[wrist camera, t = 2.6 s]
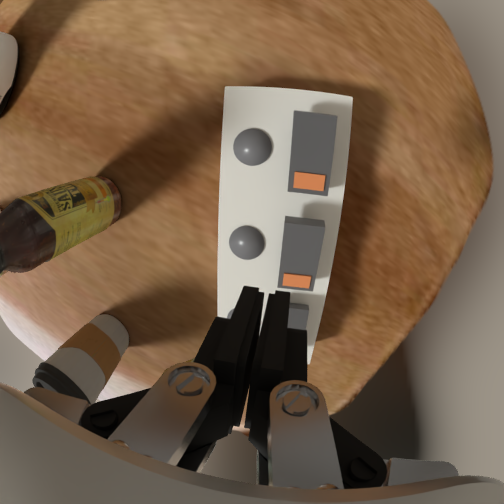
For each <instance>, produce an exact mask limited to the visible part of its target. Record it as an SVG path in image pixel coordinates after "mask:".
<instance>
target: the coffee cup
mask: <svg viewBox="0 0 504 504" xmlns="http://www.w3.org/2000/svg"><path fill="white" fill-rule="evenodd" d="M128 344H129V335H128V332H127V330H126V328H125V327H124V326H123V324H122V323H121V322H120V321H119V320H117V319H116V318H114V317H113V316H110V315H107V314H102V315H98V316H96V317H95V318H94V319H92V320H91V321H90V322H89V323H87V324H86V325H84V326H83V327H82V328H81V329H80V330H79V331H78V332H76V333H75V334H74V335H73V336H72V337H71V338H70V339H68V340H67V341H66V342H65V343H64V344H63V345H62V346H60V347H59V348H58V350H57V351H56V352H55V353H54V354H53V355H52V356H50V357H49V358H48V359H47V360H46V361H45V362H43V363H41V364H40V365H39V367H38V368H37V369H36V371H35V376H34V378H33V384H34V386H35V387H41V388H44V389H47V390H51V391H54V392H57V393H60V394H64V395H67V396H71V397H74V398H78V399H82V400H86V401H87V402H88V404H90V405H92V404H94V403H95V401H96V399H97V398H98V396H99V394H100V392H101V391H102V390H103V388H104V387H105V385H106V383H107V382H108V380H109V378H110V377H111V375H112V373H113V371H114V370H115V368H116V366H117V365H118V363H119V361H120V360H121V357H122V355H123V354H124V352H125V350H126V349H127V347H128Z"/></svg>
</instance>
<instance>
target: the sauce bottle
mask: <svg viewBox="0 0 504 504" xmlns="http://www.w3.org/2000/svg"><path fill="white" fill-rule="evenodd" d="M120 212H121V195H120V193H119V191H118V189H117V187H116V186H115V184H114V183H113V182H112V181H111V180H109V179H108V178H105V177H103V176H101V177H100V176H98V177H87V178H83V179H79V180H75V181H72V182H68V183H65V184H61V185H57V186H54V187H51V188H47V189H44V190H41V191H38V192H35V193H32V194H29V195H26V196H23V197H20V198H17V199H15V200H14V201H13V202H12V203H11V204H10V205H9V206H8V207H6V208H5V209H4V210H3V211H2V212H1V213H0V274H1V273H2V272H3V271H11V272H14V273H15V272H18V273H22V272H28V271H30V270H32V269H34V268H36V267H37V266H39V265H41V264H42V263H44V262H47V261H50V260H51V259H53V258H55V257H56V256H58V255H60V254H62V253H63V252H65V251H67V250H69V249H70V248H72V247H74V246H76V245H78V244H79V243H81V242H83V241H85V240H87V239H89V238H91V237H92V236H94V235H96V234H98V233H100V232H102V231H104V230H106V229H107V228H108V226H110V225H112V224H114V223H115V222H116V221H117V219H118V217H119V215H120Z"/></svg>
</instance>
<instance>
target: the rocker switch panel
mask: <svg viewBox="0 0 504 504" xmlns="http://www.w3.org/2000/svg"><path fill="white" fill-rule="evenodd" d="M352 103H353V97H350V96H344V95H338V94H332V93H325V92H317V91H309V90H299V89H288V88H274V87H251V86H225V94H224V109H223V125H222V143H221V164H220V189H219V221H218V317H223V318H229V319H230V318H231V316H232V313H233V311H234V308H235V306H236V304H237V301H238V299H239V296H240V294H241V291H242V289H243V287H244V286H251V287H258V288H259V292H264V301H263V309H262V318H261V326H260V331H261V327H262V322H263V318H264V313H265V309H266V305H267V300H268V296H269V293H271V294H275V291H276V290H278V291H286V292H290V303H295V304H305V305H309V314H308V320H307V326H306V330H307V364H310V360H311V356H312V352H313V349H314V345H315V341H316V337H317V333H318V329H319V325H320V320H321V316H322V312H323V307H324V303H325V298H326V294H327V289H328V284H329V279H330V274H331V269H332V264H333V259H334V253H335V248H336V242H337V236H338V230H339V224H340V217H341V210H342V204H343V196H344V189H345V181H346V172H347V164H348V154H349V144H350V132H351V119H352ZM294 110H298V111H308V112H316V113H324V114H331V115H336V116H338V117H337V127H336V137H335V145H334V154H333V162H332V169H331V177H330V184H329V191H328V196H321V195H313V194H304V193H295V192H287V191H288V179H289V168H290V155H291V142H292V129H293V114H294ZM285 216H292V217H301V218H310V219H318V220H324V222H325V233H324V239H323V244H322V249H321V254H320V260H319V265H318V270H317V274H316V279H315V284H314V289H313V292H312V291H303V290H294V289H285V288H277V286H278V277H279V268H280V259H281V250H282V241H283V231H284V221H285ZM259 335H260V334H259Z"/></svg>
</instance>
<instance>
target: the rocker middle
mask: <svg viewBox="0 0 504 504" xmlns="http://www.w3.org/2000/svg"><path fill="white" fill-rule="evenodd" d="M324 233H325V222H324V220H318V219H310V218H301V217H292V216H285V221H284V231H283V241H282V250H281V259H280V268H279V277H278V286H277V288H285V289H294V290H303V291H312V292H313V289H314V284H315V279H316V274H317V270H318V265H319V260H320V254H321V249H322V244H323V239H324Z"/></svg>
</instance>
